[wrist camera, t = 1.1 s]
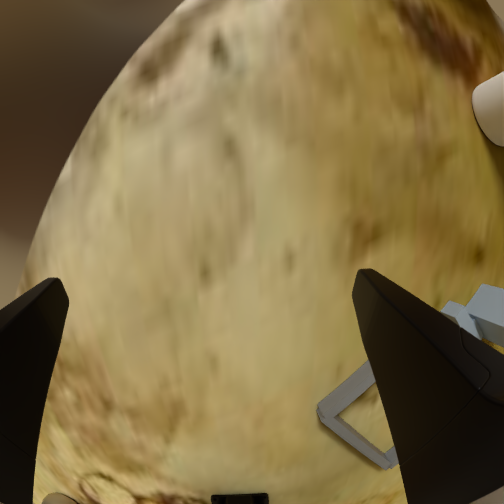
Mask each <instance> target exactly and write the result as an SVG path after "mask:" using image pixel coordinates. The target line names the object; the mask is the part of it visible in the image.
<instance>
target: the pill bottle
mask: <svg viewBox="0 0 504 504" xmlns="http://www.w3.org/2000/svg"><path fill="white" fill-rule="evenodd" d="M472 105H473V110H474V114H475V116H476V119H477V121H478V123H479V125H480V127H481V129H482V130H483V132H484V133H485V135H486V136H487V137H488V138H489V139H490V140H491V141H492V142H493V143H495V144H496V145H498V146H504V72H502V73H500V74H498V75H496V76H495V77H493V78H491V79H489V80H487V81H485V82H484V83H482V84H480V85H479V86H477V87H476V88H475V90H474V92H473V95H472Z"/></svg>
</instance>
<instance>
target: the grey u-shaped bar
mask: <svg viewBox="0 0 504 504" xmlns="http://www.w3.org/2000/svg"><path fill="white" fill-rule="evenodd" d="M374 382H376V381H375V378H374V375H373V372H372V369H371V366H370V363H369V360H368V361H366V362H365V363H364V364H363V365H362V366H361V367H360V368H359V369H358V370H357V371H356V372H355V373H353V374H352V375H351V376H350V377H349V378H348V379H347V380H346V381H344V382H343V383H342V384H341V385H340V386H339V387H337V388H336V389H335V390H334V391H333V392H332V393H330V394H329V395H328V396H327V397H325V398H324V399H323V400H322V401H321V402H319V403H318V404H317V405H318V407H319V408H318V409H317V410H316V411H317V413H318V415H319V417H320V420H321V422H322V423H324V424H325V425H326V426H327V427H329V428H330V429H331V430H332V431H334V432H335V433H336V434H337V435H339V436H340V437H341V438H343V439H344V440H345V441H346V442H348V443H349V444H350V445H352V446H353V447H354V448H356V449H357V450H358V451H360V452H361V453H362V454H364V455H365V456H366V457H368V458H369V459H370V460H372V461H373V462H375V463H376V464H377V465H379V466H380V467H382V468H383V469H384V470H387V469H388V468H390V469H392V468H393V467H394V466H396V465H397V464H398V463H399V462H398V458H397V454H396V450H395V446H394V447H392V448H391V449H390V450H389V451H387V452H386V453H385V454H384V453H383V452H382V451H380V450H379V449H378V448H377V447H375V446H374V445H373V444H372V443H370V442H369V441H368V440H367V439H366V438H364V437H363V436H362V435H361V434H359V433H358V432H357V431H356V430H355V429H353V428H352V427H351V426H350V425H349V424H348V423H346V422H345V421H344V420H343V419H342V418H340V417H339V416H338V415H337V414H338V413H340V412H341V411H342V410H343V409H345V408H346V407H347V406H348V405H349V404H351V403H352V402H353V401H354V400H355V399H356V398H358V397H359V396H360V395H361V394H362V393H363V392H364V391H366V390H367V389H368V388H369V387H370V386H371V385H372V384H373V383H374Z"/></svg>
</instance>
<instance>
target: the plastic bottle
mask: <svg viewBox="0 0 504 504" xmlns="http://www.w3.org/2000/svg"><path fill="white" fill-rule="evenodd" d="M42 504H77V503H76V502H74V501H73V500H72V499H70V498H68V497H67V496H65V495H62V494H60V493H50V494H48V495H47V496H46V497H45V498H44V499H43V502H42Z"/></svg>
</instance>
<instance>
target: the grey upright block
mask: <svg viewBox="0 0 504 504" xmlns="http://www.w3.org/2000/svg"><path fill="white" fill-rule="evenodd" d="M440 312H441V313H442V314H443V315H444V316H446V317H447V318H449V319H450V320H452V321H453V322H455V323H456V324H458V325H459V326H460V327H462V328H464V329H465V330H466V331H468V332H469V333H471V334H472V335H474V336H475V337H477V338H478V339H480V340H481V339H482V338H484V339H487V340H489V341H491V342H493V343H495V344H497V345H499V346H502V347H504V289H502V288H498V287H494V286H490V285H486V284H482V285H481V286H480V288H479V289H478V290H477V292H476V293H475V295H474V296H473V297H472V299H471V300H470V301H469V303H468V304H467V305H466V307H465V306H463V305H461V304H458V303H455V302H452V301H448V303H447V304H446V305H445V306H444V308H443V309H442V310H441V311H440ZM481 341H482V340H481Z"/></svg>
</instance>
